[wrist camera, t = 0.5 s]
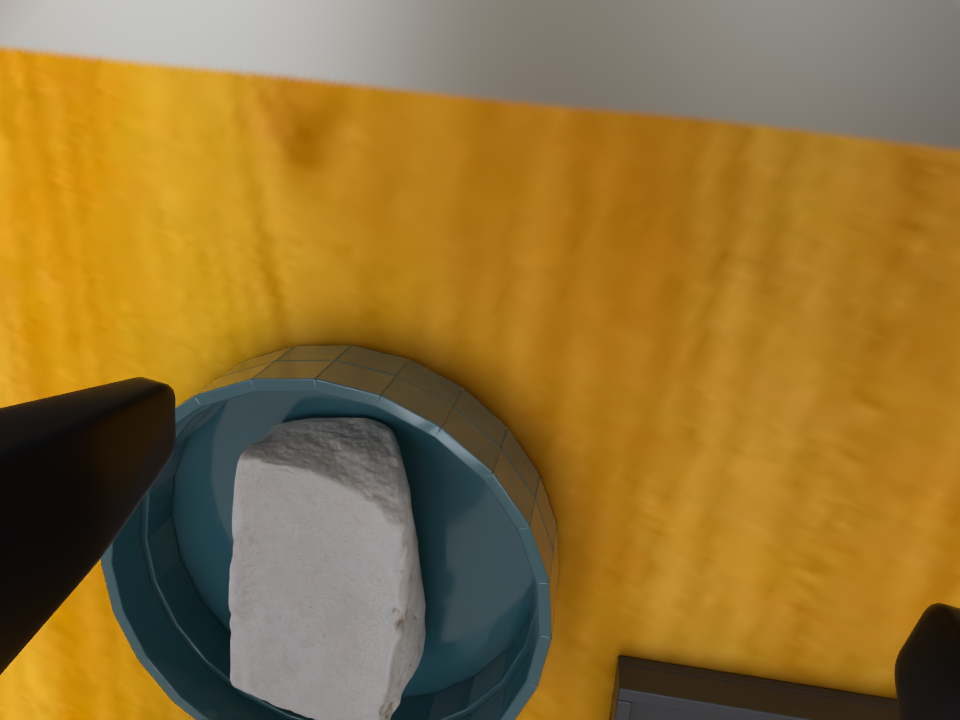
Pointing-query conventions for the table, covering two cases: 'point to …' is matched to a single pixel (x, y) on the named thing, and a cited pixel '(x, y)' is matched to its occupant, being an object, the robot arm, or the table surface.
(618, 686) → the tray
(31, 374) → the table surface
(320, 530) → the grey stone block
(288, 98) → the table surface
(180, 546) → the bowl
